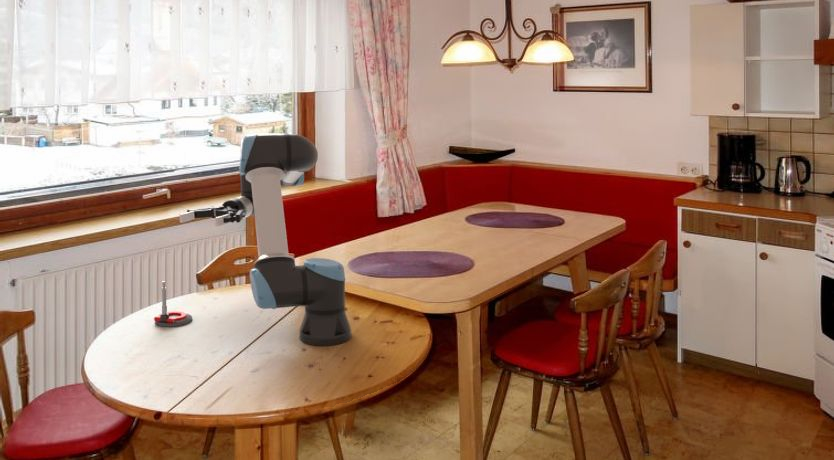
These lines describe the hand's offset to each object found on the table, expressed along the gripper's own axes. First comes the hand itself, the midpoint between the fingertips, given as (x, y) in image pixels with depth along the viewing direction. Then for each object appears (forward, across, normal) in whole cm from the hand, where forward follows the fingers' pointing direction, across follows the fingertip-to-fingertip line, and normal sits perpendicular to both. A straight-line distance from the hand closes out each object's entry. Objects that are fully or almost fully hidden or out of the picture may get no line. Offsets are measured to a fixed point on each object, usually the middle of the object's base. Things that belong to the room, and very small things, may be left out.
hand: (198, 220), depth 236 cm
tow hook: (+12, +2, -29) cm, 32 cm away
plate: (+12, +2, -30) cm, 32 cm away
